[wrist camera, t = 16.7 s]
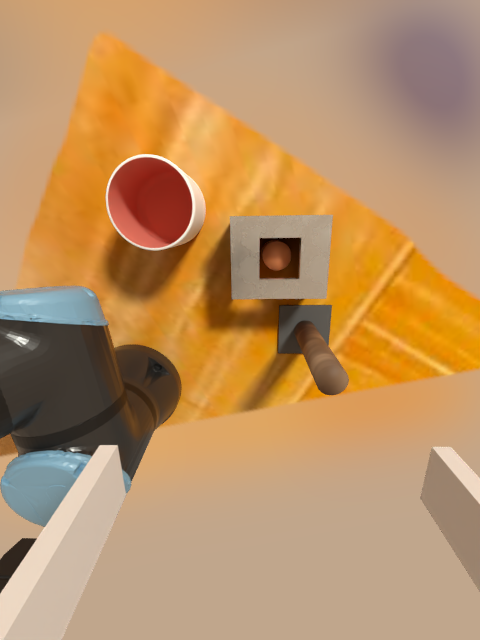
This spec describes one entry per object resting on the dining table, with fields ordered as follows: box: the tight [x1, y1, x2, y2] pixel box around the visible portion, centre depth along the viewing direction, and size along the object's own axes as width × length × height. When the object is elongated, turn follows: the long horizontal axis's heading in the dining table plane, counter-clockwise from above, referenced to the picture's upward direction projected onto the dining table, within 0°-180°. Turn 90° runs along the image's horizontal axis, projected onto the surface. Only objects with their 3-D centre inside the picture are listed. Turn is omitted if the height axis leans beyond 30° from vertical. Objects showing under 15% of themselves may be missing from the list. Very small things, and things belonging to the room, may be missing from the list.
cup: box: [106, 154, 206, 251], centre depth 37 cm, size 10×10×10 cm
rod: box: [294, 320, 349, 395], centre depth 39 cm, size 3×3×16 cm
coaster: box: [278, 305, 332, 353], centre depth 47 cm, size 8×8×1 cm
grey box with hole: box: [230, 215, 333, 299], centre depth 40 cm, size 12×10×8 cm
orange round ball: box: [261, 240, 291, 270], centre depth 42 cm, size 4×4×4 cm
